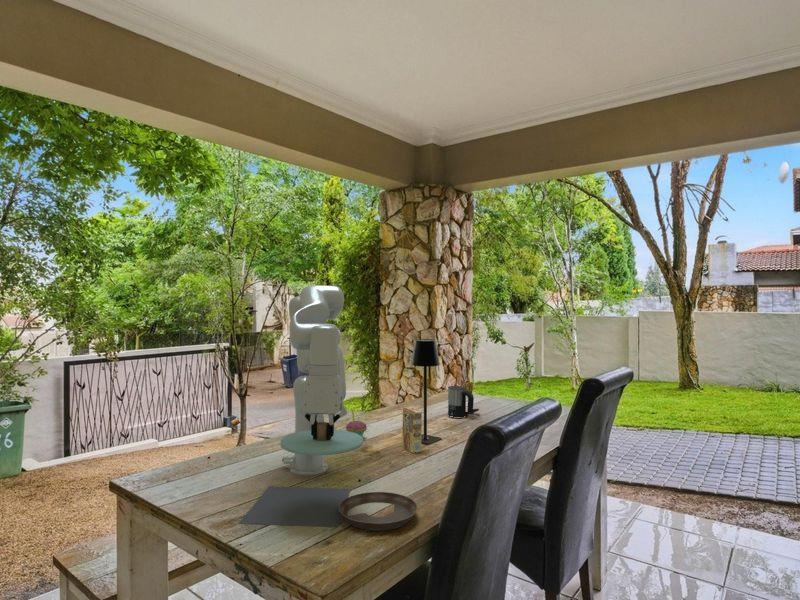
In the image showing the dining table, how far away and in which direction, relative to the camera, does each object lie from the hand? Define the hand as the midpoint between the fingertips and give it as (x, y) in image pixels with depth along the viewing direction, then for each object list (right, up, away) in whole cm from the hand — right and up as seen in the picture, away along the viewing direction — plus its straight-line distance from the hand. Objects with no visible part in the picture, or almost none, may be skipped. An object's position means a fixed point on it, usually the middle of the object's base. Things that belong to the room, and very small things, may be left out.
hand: (322, 437), depth 134 cm
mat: (-7, -19, +2) cm, 20 cm away
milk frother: (+53, -21, +114) cm, 127 cm away
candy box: (+26, -20, +56) cm, 65 cm away
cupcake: (+3, -20, +70) cm, 72 cm away
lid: (0, -1, 0) cm, 1 cm away
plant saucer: (+15, -20, -4) cm, 26 cm away
